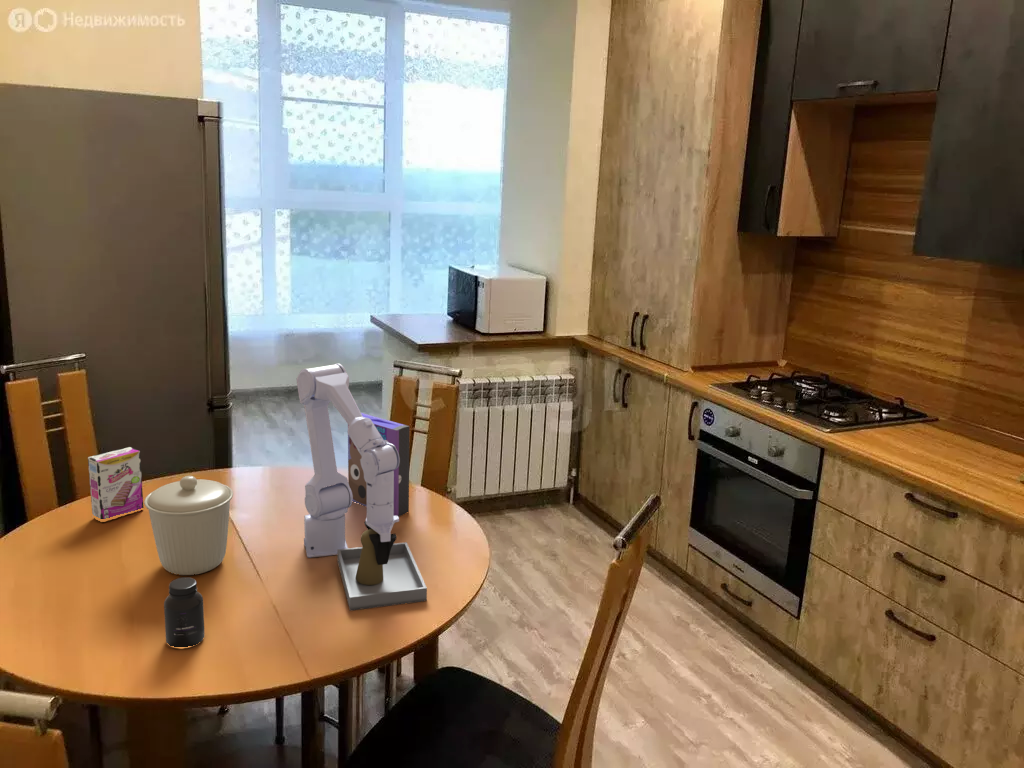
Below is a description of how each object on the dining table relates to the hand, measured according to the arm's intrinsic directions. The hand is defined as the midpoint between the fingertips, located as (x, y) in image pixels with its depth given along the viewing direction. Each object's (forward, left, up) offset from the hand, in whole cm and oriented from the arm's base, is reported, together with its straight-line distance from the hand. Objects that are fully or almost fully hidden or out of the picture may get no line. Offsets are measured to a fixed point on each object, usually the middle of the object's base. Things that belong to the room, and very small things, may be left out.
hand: (380, 557), depth 177 cm
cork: (-2, 0, -5) cm, 5 cm away
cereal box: (+6, +40, -6) cm, 41 cm away
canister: (-39, +17, -6) cm, 43 cm away
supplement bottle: (-39, -14, -6) cm, 42 cm away
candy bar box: (-58, +49, -6) cm, 76 cm away
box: (0, 0, -5) cm, 5 cm away
